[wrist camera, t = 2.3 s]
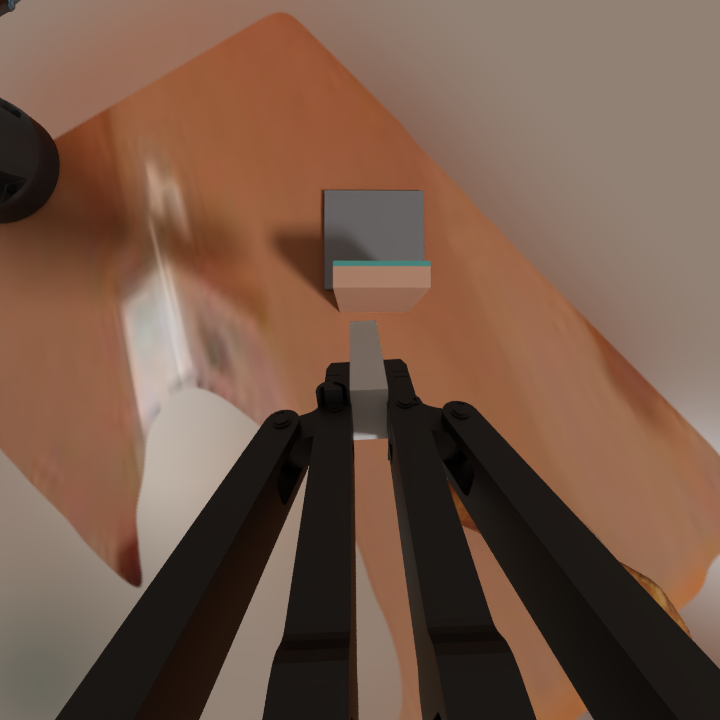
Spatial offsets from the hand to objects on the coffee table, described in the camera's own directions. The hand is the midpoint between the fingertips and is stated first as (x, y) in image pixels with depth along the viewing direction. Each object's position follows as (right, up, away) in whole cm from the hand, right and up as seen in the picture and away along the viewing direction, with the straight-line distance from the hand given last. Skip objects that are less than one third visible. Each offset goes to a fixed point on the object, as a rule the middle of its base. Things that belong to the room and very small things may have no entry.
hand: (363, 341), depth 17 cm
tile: (+2, +6, +20) cm, 21 cm away
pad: (+2, +15, +20) cm, 25 cm away
